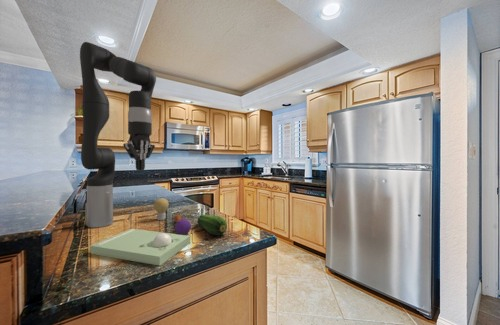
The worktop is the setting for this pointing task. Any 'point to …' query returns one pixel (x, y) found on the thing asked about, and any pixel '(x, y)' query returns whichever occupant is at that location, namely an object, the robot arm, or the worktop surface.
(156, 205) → the light bulb
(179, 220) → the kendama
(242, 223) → the worktop surface
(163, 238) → the ball
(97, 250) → the putting board
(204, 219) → the vegetable
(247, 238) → the worktop surface
